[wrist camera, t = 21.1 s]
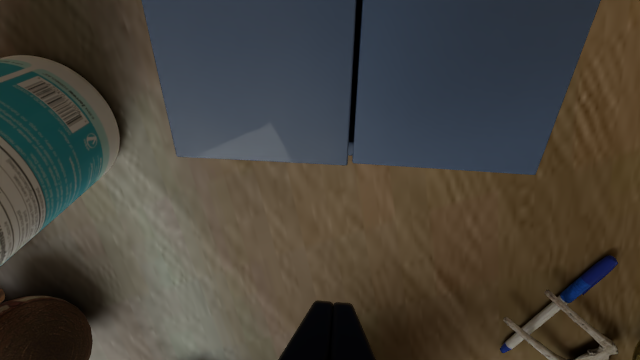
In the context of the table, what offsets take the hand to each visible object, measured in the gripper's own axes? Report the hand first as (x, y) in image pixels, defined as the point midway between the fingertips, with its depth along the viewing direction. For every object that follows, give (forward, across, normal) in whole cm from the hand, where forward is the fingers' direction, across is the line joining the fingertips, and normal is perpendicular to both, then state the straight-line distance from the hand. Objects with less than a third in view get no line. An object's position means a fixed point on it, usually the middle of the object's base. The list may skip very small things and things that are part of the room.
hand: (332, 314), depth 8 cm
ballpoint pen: (+12, -14, +13) cm, 22 cm away
